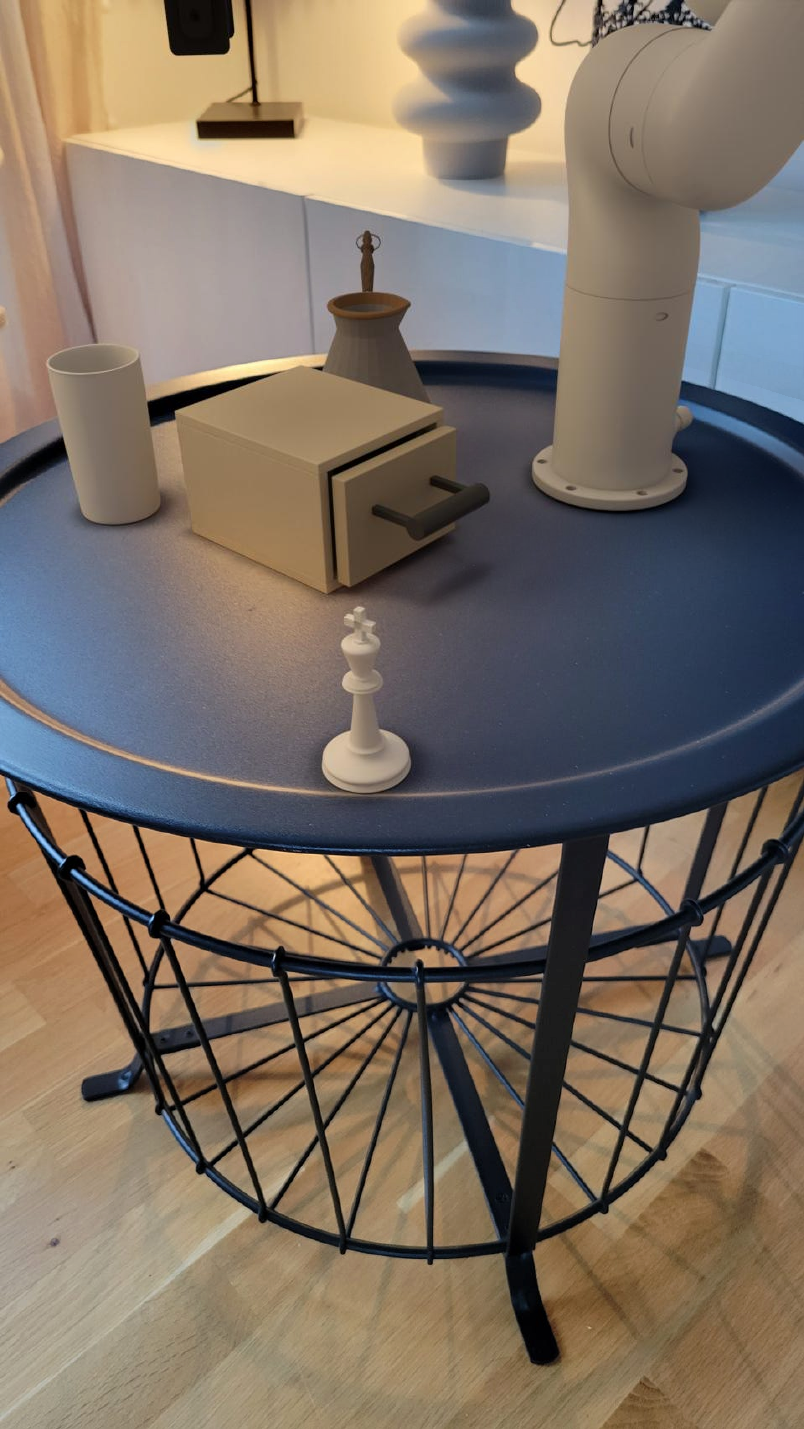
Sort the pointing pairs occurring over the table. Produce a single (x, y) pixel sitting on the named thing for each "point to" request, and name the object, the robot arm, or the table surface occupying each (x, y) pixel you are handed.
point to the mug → (106, 431)
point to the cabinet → (285, 462)
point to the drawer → (396, 502)
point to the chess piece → (364, 721)
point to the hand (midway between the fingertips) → (205, 46)
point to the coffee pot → (372, 336)
